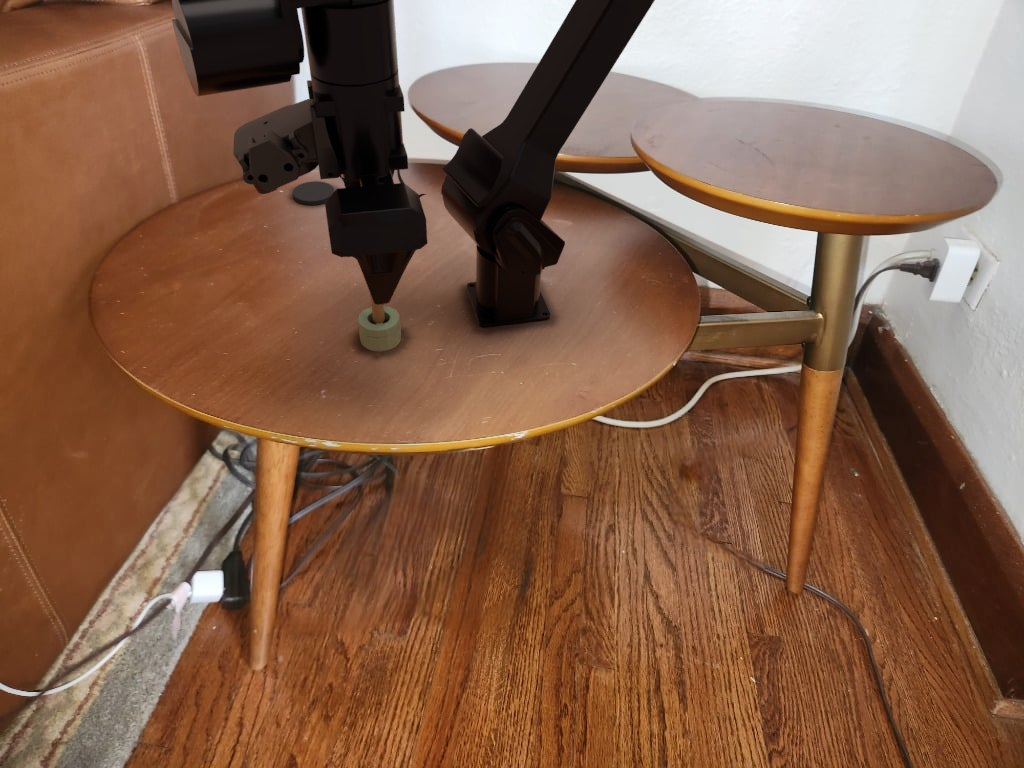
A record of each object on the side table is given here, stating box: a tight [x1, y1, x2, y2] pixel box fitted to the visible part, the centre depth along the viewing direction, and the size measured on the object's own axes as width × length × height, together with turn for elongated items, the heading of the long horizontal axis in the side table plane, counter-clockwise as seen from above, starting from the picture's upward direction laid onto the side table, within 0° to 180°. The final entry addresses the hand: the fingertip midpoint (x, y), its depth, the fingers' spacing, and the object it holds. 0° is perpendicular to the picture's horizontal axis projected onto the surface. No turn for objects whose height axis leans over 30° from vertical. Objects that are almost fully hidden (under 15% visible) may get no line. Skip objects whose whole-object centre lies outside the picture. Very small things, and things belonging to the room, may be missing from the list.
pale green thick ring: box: [357, 305, 402, 352], centre depth 66 cm, size 3×4×2 cm
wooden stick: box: [369, 293, 385, 325], centre depth 63 cm, size 1×1×9 cm
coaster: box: [292, 180, 335, 206], centre depth 85 cm, size 4×4×1 cm
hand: (374, 269), depth 62 cm, fingers open, 9 cm apart
